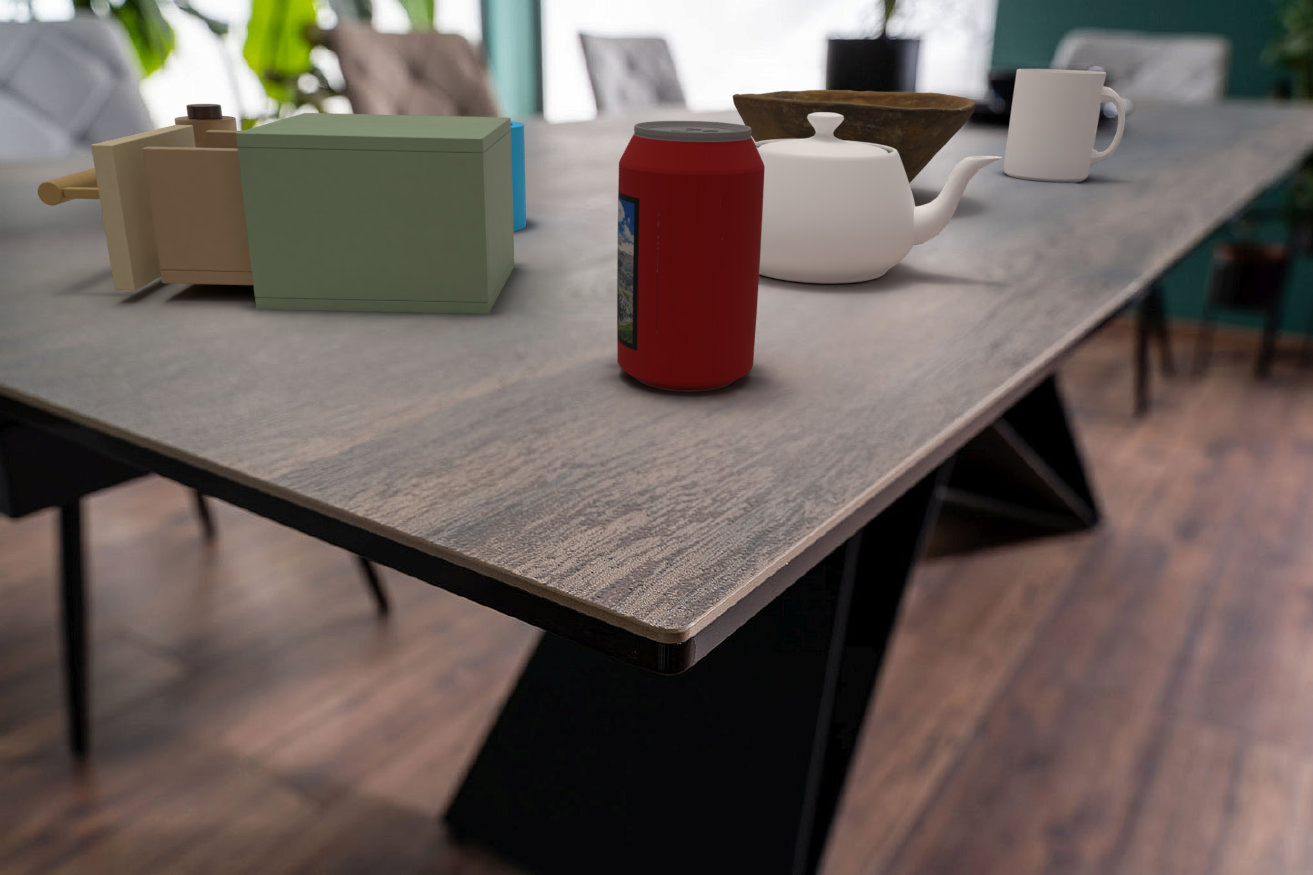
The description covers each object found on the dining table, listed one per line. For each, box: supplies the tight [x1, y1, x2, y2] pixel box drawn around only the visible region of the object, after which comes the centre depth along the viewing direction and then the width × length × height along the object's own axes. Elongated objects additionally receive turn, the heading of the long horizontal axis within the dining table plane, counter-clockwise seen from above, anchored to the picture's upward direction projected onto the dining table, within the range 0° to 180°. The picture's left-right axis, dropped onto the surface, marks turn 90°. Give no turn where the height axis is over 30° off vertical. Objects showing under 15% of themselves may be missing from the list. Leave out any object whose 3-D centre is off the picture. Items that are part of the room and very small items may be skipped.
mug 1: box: [510, 120, 527, 232], centre depth 89 cm, size 12×8×8 cm
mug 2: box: [1003, 68, 1126, 183], centre depth 122 cm, size 10×12×12 cm
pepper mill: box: [174, 103, 238, 148], centre depth 89 cm, size 5×5×9 cm
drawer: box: [37, 124, 253, 291], centre depth 67 cm, size 17×11×8 cm, turn 90°
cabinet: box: [236, 112, 515, 315], centre depth 67 cm, size 14×13×10 cm
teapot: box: [754, 112, 1003, 285], centre depth 74 cm, size 22×14×11 cm, turn 76°
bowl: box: [732, 89, 977, 185], centre depth 104 cm, size 22×23×10 cm
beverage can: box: [616, 120, 765, 393], centre depth 51 cm, size 7×7×12 cm
